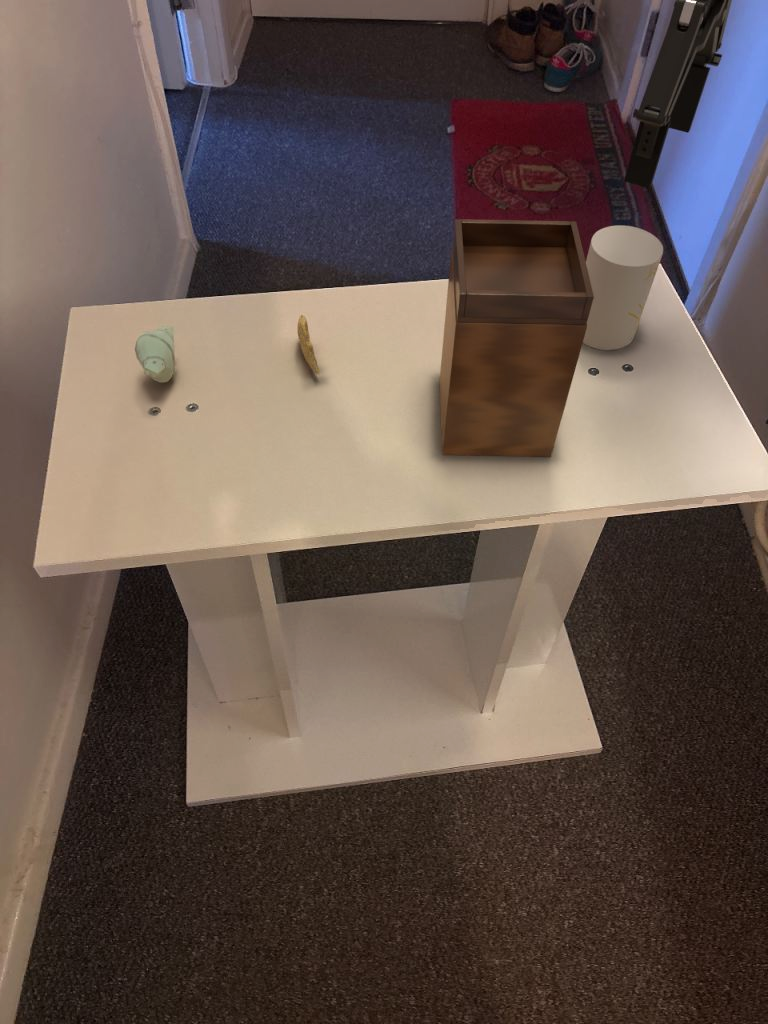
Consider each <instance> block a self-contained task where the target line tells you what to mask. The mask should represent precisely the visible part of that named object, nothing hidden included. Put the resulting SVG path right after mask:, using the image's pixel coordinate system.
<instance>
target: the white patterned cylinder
mask: <svg viewBox="0 0 768 1024" xmlns="http://www.w3.org/2000/svg"><path fill="white" fill-rule="evenodd" d="M663 255H664V246H663V244H662V241H660V239H659V238H658V237H656V235H654V234H653V233H651V232H649V231H647V230H645V229H642V228H640V227H635V226H630V225H610V226H606V227H603V228H600V229H599V230H596V232H595V233H594V234H593V235H592V237H591V240H590V243H589V248H588V253H587V256H586V259H585V261H586V265H587V270H588V274H589V278H590V282H591V286H592V291H593V295H594V299H593V302H592V306H591V309H590V313H589V317H588V320H587V329H586V333H585V337H584V340H583V344H582V345H585V346H587V347H590V348H593V349H595V350H601V351H602V350H603V351H615V350H619V349H623V348H625V347H627V346H628V345H630V344H631V343H632V342H633V341H634V338H635V335H636V332H637V330H638V327H639V324H640V321H641V318H642V315H643V312H644V309H645V306H646V303H647V301H648V298H649V295H650V292H651V289H652V286H653V283H654V280H655V277H656V274H657V272H658V269H659V266H660V263H661V260H662V257H663Z"/></svg>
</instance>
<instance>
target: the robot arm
mask: <svg viewBox="0 0 768 1024" xmlns="http://www.w3.org/2000/svg"><path fill="white" fill-rule="evenodd" d="M732 2H733V0H675V1H674V4H673V10H672V13H671V17H670V20H669V24H668V27H667V30H666V32H665V34H664V35H665V36H664V38H663V41H662V43H661V46H660V49H659V52H658V55H657V58H656V60H655V63H654V66H653V69H652V72H651V74H650V76H649V80H648V83H647V86H646V88H645V91H644V94H643V97H642V100H641V102H640V105H639V107H638V108H637V107H635V108H634V110H633V113H632V118H633V119H635V120H636V121H639V125H638V128H637V132H636V136H635V139H634V143H633V147H632V150H631V153H630V156H629V161H628V164H627V168H626V172H625V176H624V180H623V182H625V183H629V184H631V185H636V186H639V187H641V188H642V187H643V188H646V189H650V188H651V186H652V185H653V182H654V180H655V179H654V178H655V176H656V171H657V169H658V165H659V162H660V159H661V155H662V152H663V149H664V145H665V142H666V139H667V135H668V133H669V129H672V130H676V131H681V132H684V133H686V134H687V133H688V134H689V132H690V131H691V128H692V125H693V124H694V123H693V122H694V119H695V116H696V113H697V110H698V107H699V104H700V101H701V98H702V95H703V92H704V89H705V86H706V83H707V80H708V77H709V73H710V70H711V67H709V66H712V67H719V65H720V63H721V60H722V58H723V54H722V53H718V51H719V50H720V49H721V48H722V45H723V43H722V42H723V37H724V33H725V30H726V26H727V21H728V18H729V14H730V9H731V5H732ZM708 65H709V66H708Z"/></svg>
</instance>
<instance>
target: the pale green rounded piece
mask: <svg viewBox="0 0 768 1024" xmlns="http://www.w3.org/2000/svg"><path fill="white" fill-rule="evenodd" d="M174 327H175V326H159V327H158V328H157V329H155V330H152V331H151V330H149V331H148V330H147V331H144V332H143V333H141V334H140V335H139V336H138V338H137V340H136V342H135V347H134V352H135V355H136V356H135V357H136V359H137V361H138V363H139V364H140V365H141V367H142V369H143V370H144V374H145V375H147V376H149V377H150V378H151V379H152V380H154V381H155V382H158V383H161V384H163V383H168V382H169V381H170V379H172V377H173V374H174V373H175V368H176V352H175V351H176V349H175V331H174V330H175V328H174Z"/></svg>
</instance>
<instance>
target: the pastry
mask: <svg viewBox="0 0 768 1024" xmlns="http://www.w3.org/2000/svg"><path fill="white" fill-rule="evenodd" d="M297 336H298V340H299V344H300V347H301V351H302V354H303V357H304V359H305V361H306V363H307V365H309V367H310V368H311V370H312V371H313V372H314V373H315V374H316V375H321V374H320V373H321V372H320V369H319V366H318V362H317V358H316V355H315V350H314V345H313V344H312V342H311V337H310V332H309V326H308V321H307V318H306V316H304V315H302V314H301V315H300V316H299V317H298V322H297Z"/></svg>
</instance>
